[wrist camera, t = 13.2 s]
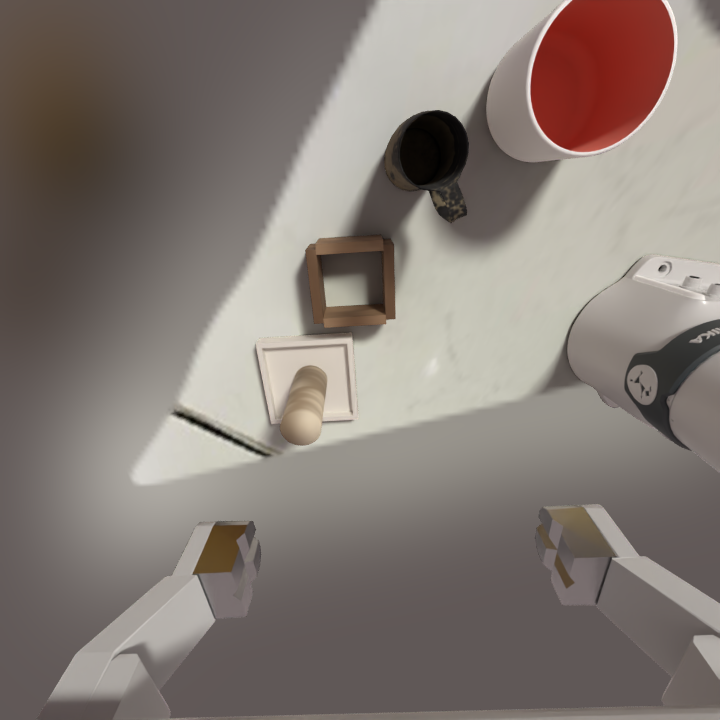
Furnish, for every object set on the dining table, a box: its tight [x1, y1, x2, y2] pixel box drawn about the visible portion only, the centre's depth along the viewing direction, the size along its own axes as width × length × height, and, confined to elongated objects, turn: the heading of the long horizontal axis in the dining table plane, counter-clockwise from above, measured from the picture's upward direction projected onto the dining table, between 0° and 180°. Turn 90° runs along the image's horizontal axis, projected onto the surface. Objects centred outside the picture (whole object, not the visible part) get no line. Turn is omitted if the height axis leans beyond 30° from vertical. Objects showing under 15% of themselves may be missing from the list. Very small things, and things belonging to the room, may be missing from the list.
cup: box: [486, 0, 678, 162], centre depth 30 cm, size 10×10×10 cm
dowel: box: [280, 365, 327, 445], centre depth 41 cm, size 4×4×10 cm
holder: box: [305, 235, 395, 328], centre depth 39 cm, size 8×8×4 cm
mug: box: [384, 110, 469, 223], centre depth 31 cm, size 8×6×12 cm
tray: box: [256, 332, 358, 424], centre depth 46 cm, size 11×11×2 cm
